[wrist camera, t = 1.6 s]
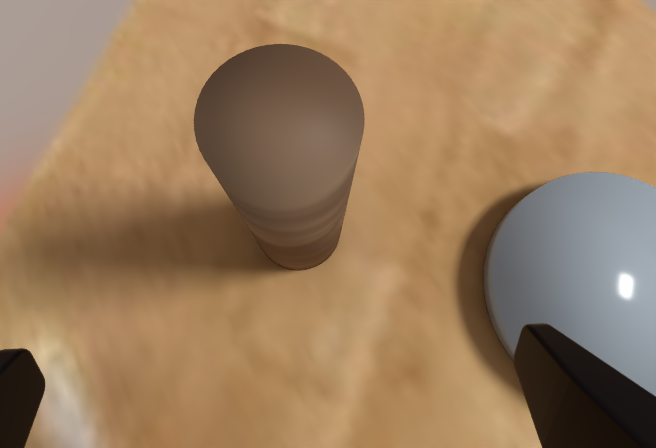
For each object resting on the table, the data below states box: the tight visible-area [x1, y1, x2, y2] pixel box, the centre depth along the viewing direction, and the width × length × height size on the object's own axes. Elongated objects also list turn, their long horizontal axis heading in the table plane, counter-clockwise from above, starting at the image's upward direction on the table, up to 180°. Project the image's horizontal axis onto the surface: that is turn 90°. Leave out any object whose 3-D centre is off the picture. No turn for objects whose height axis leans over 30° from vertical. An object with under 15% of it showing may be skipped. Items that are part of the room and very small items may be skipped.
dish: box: [483, 172, 656, 396], centre depth 20 cm, size 11×11×1 cm
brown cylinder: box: [194, 44, 364, 270], centre depth 15 cm, size 4×4×11 cm
